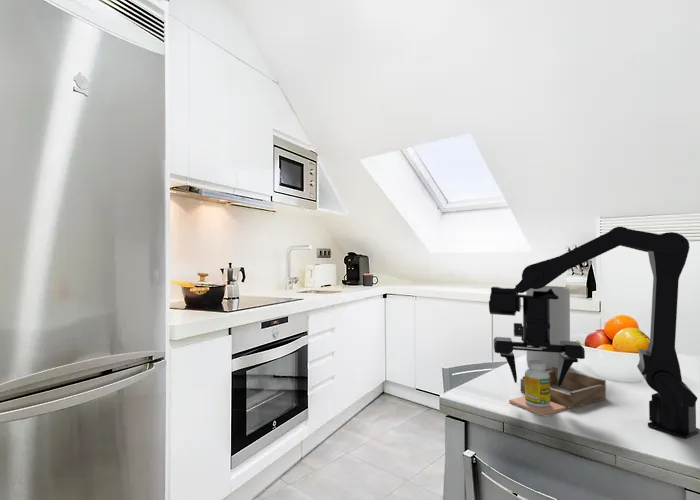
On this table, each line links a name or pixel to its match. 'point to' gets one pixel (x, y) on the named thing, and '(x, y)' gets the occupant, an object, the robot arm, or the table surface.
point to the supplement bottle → (537, 384)
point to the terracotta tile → (539, 410)
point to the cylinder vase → (554, 324)
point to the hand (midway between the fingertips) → (536, 384)
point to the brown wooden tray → (583, 385)
